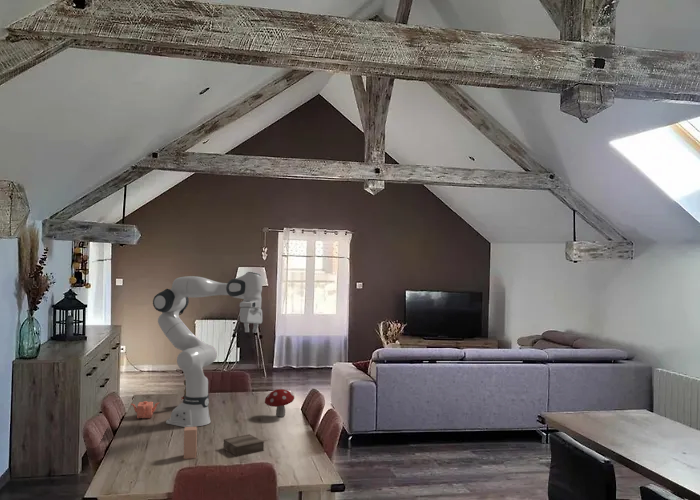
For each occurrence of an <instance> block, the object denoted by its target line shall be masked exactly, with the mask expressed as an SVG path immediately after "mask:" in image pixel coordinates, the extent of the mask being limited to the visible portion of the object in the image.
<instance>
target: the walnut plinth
mask: <svg viewBox="0 0 700 500" xmlns="http://www.w3.org/2000/svg"><path fill="white" fill-rule="evenodd" d="M264 443H265V442H264V441H263V440H261V439H259V438H258V437H256V436H254V435H252V434H250V433H249V434H244V435H239V436H233V437H229V438H224V439H223V449H224V450H226V451H227V452H229V453H231V454H232V455H234V456H236V457H240V456H245V455H249V454H254V453H260V452H264Z"/></svg>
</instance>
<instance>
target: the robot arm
mask: <svg viewBox="0 0 700 500" xmlns="http://www.w3.org/2000/svg"><path fill="white" fill-rule="evenodd" d="M262 291H263V276H262V275H261V274H260V273H256V272H253V271H252V272H251V271H246V273H244V274H243V275H241V276H239V277H236V278H232V279H230V280H229V281H228V282H227V283H226V282H220V281H215V280H212V279H209V278H207V277H202V276H196V275H195V276H193V275H189V276H188V275H187V276H181V277H177V278H175V279H174V280H173V281H172V285H171V288H166V289H163V290H162V291H161V292H158V293H157V294H155V296H154V297H153V300H152V306H153V307H154V309H155V311H158V312H159V313H160V315H159V316H158V318H157V324H158V325H159V327H160V329H161V331H162V333H163V334H164V335H165V337H166V338H167V339H168V341H169V342H170V343H171V344H172V346H174V348H175V349H177V350H180V351H181V352H180V353H178V354H177V358H176V363H177V366H178V367H179V369H180V370H182V372H183V376H184V379H185V380H186V386H185V387H186V395H185V396H184V395H183V396H181V397H180V399H181V400H182V402H181V403H180V404H178V405H176V407H175V408H173V409H172V411H171V413H170V414H171V415H170V418H168V419H166V421H165V424H168V425H173V426H177V427H182V428H185V427H200V426H201V427H202V426H206V425H209V424H210V423H211V422H212V421H211V418H210V411H209V401H210V395H209V379H208V377H207V376H205V373H204V369H203V368H204V367H208V366H210V365H212V364H213V363H214V362H215V361H216V360H217V358H218V357H217V356H218V352H217V350H216V348H215V347H214V346H213V345H211V344H208V343H206V342H204V341H203V340H201V339H200V338H199V337H198V336H196V335H195V334H194V333H193V332H192V331H191V330H190V329H189V328H188V326H187V325H186V324H185V323H184V321H183V320H182V319H181V318H180V315H182V314H184V311H185V310H186V309H187V308H188V305H189V304H190V303H189V300H190V299H189V298H205V297H212V296H230V297H231V298H235V299H242V301H240V302H239V321H240V323H243V326H244V333H250V330H251V329H250V327H249V325H250V324H253V328H252V333H253V334H254V333H255V334H256V333H257V332H258V328H259V325H261V324H262V323H263V309H262V299H263V298H262Z"/></svg>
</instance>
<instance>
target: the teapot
mask: <svg viewBox="0 0 700 500" xmlns="http://www.w3.org/2000/svg"><path fill="white" fill-rule="evenodd" d="M159 404H160V402H156V403H155V404H154V401H147V400H144V401H139V402H138V403H137V406H136V404H135V403H130V405H132V407H133V410H134V412H135V413H136V419H139V418H142V419H152V417H153V415H154V412H156V411H157V406H158V405H159Z"/></svg>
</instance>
